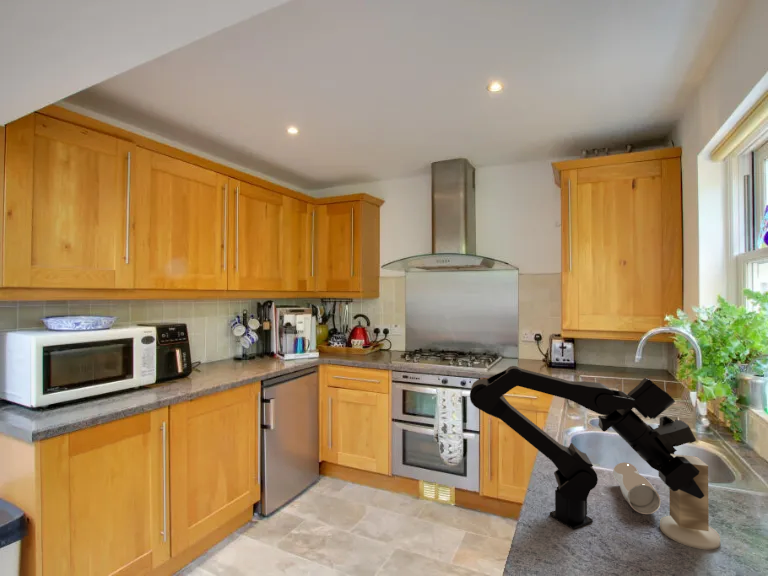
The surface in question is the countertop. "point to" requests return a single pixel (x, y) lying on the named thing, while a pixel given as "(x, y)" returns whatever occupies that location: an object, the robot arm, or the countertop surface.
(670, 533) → the saucer
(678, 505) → the wooden block
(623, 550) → the countertop surface
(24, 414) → the countertop surface
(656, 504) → the beer glass
